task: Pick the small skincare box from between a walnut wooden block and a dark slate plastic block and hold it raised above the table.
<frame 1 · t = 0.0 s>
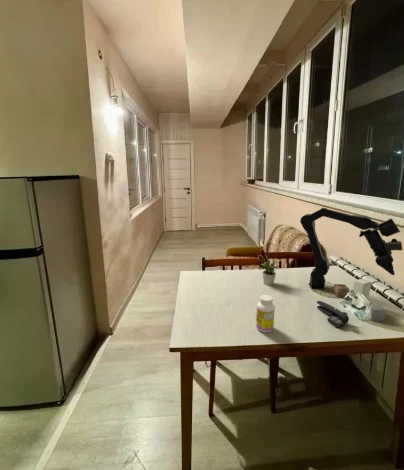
hand: (392, 271, 120), 15 cm above the table, tool tilted 35°, fingers open, 9 cm apart
walnut block: (340, 295, 130), on the table
skincare box: (359, 306, 120), on the table
slate block: (374, 317, 110), on the table
house plant: (265, 283, 145), on the table
can opener: (330, 318, 110), on the table
supplement bottle: (264, 328, 102), on the table
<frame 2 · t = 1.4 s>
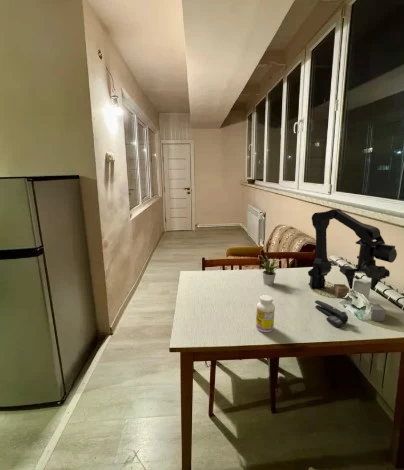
hand: (361, 289, 118), 8 cm above the table, tool pointing down, fingers open, 9 cm apart
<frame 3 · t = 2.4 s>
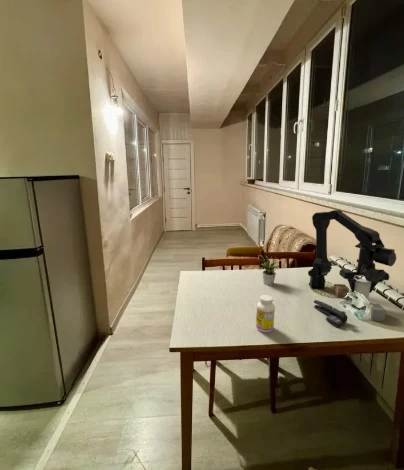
hand: (361, 292, 118), 7 cm above the table, tool pointing down, fingers closed on skincare box, 7 cm apart
skincare box: (359, 306, 120), on the table, touching gripper
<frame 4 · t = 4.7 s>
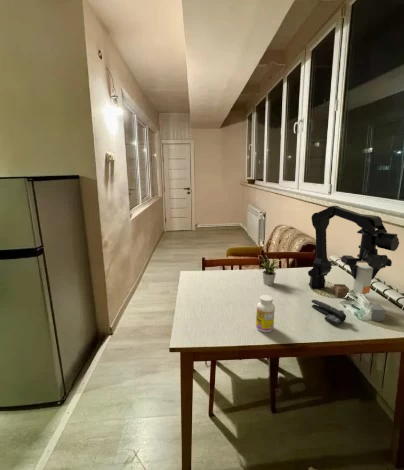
hand: (363, 279, 117), 13 cm above the table, tool pointing down, fingers closed on skincare box, 7 cm apart
skincare box: (361, 293, 119), point 6 cm above the table, touching gripper
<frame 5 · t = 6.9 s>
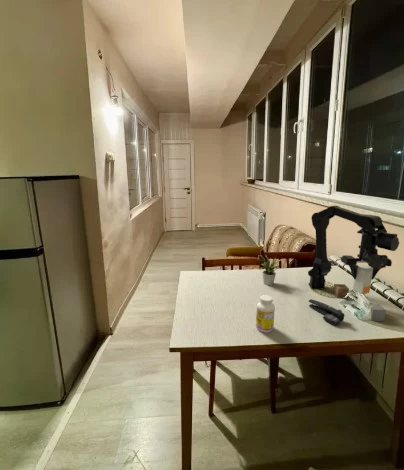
hand: (363, 279, 117), 13 cm above the table, tool pointing down, fingers closed on skincare box, 7 cm apart
skincare box: (361, 293, 119), point 6 cm above the table, touching gripper
at the end: the gripper is holding skincare box; skincare box point 6.2 cm above the table; walnut block moved 0.1 cm from its start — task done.
